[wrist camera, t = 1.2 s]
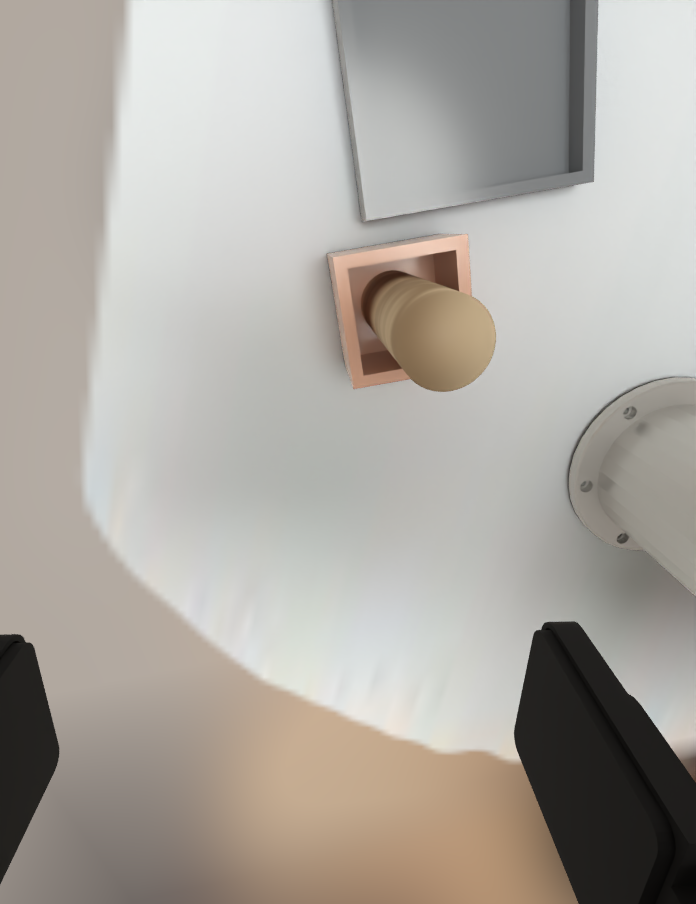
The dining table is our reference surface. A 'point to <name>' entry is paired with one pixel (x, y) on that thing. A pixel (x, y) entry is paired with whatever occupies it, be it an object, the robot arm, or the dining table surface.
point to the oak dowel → (430, 329)
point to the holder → (356, 267)
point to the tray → (466, 99)
